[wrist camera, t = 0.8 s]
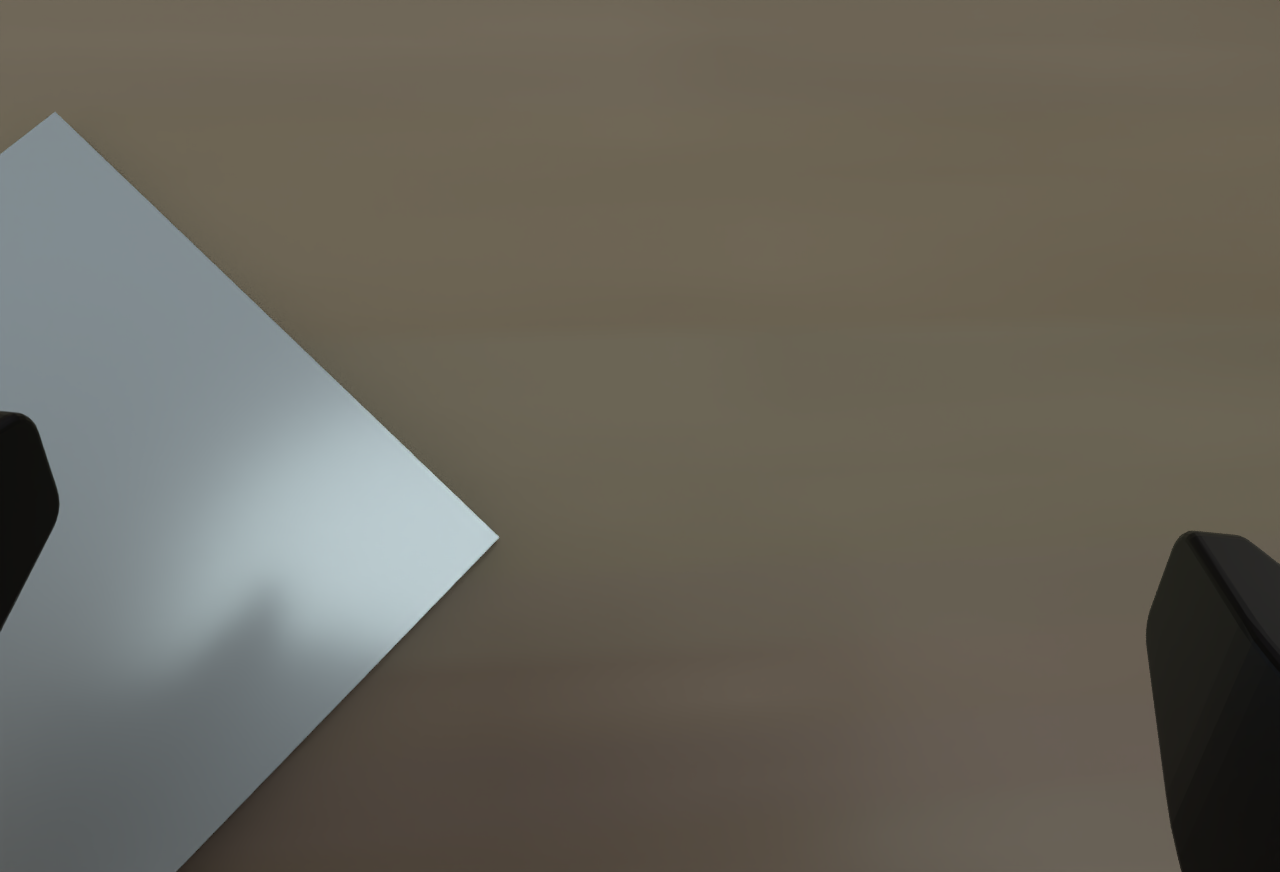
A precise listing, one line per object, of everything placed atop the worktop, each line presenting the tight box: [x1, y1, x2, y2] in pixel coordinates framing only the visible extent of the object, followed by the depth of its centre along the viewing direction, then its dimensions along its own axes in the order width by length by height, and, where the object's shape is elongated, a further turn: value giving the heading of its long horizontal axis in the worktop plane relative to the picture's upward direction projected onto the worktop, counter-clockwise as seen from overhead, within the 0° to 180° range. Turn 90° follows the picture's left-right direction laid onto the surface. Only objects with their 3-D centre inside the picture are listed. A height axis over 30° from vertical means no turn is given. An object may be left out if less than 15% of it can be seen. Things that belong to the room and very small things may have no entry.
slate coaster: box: [0, 112, 499, 872], centre depth 20 cm, size 11×11×1 cm
